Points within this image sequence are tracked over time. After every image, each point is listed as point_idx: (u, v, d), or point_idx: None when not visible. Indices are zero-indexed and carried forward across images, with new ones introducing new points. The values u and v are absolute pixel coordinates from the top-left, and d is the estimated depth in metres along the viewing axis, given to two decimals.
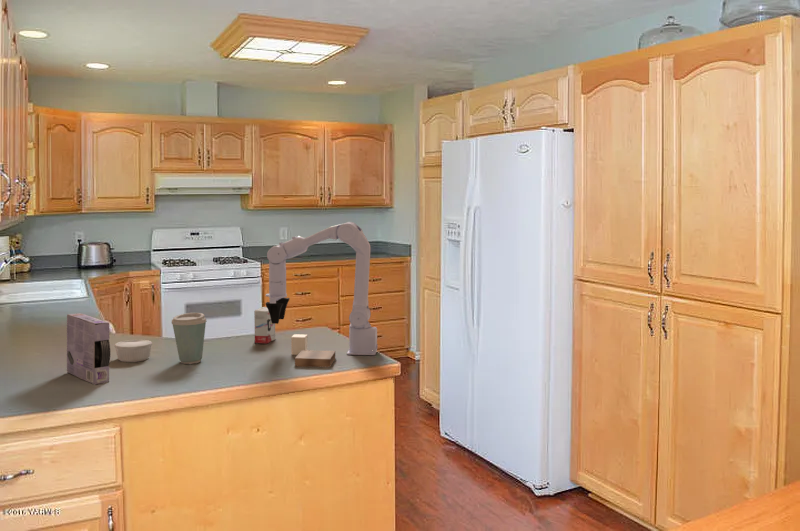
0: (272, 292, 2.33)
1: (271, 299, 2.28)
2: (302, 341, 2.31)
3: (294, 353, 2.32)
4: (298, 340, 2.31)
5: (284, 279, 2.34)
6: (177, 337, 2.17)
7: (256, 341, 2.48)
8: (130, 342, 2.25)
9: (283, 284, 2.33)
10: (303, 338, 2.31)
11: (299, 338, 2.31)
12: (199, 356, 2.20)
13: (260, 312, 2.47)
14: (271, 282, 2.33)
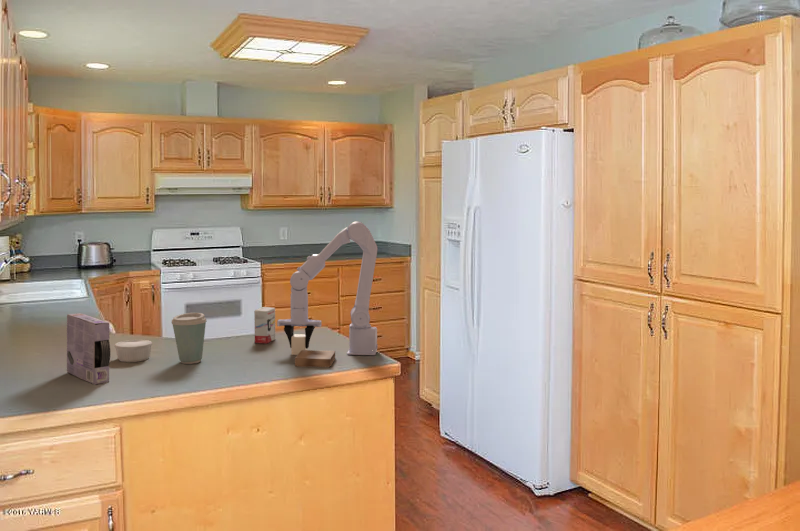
0: None
1: None
2: (302, 341, 2.31)
3: (294, 353, 2.32)
4: (298, 340, 2.31)
5: (307, 305, 2.32)
6: (177, 337, 2.17)
7: (256, 341, 2.48)
8: (130, 342, 2.25)
9: (293, 310, 2.30)
10: (303, 338, 2.31)
11: (299, 338, 2.31)
12: (199, 356, 2.20)
13: (260, 312, 2.47)
14: None
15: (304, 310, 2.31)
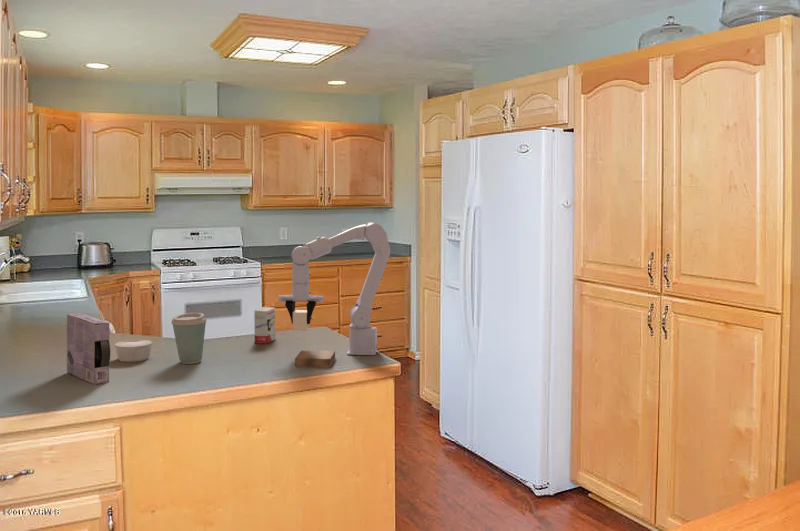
0: None
1: None
2: (303, 316, 2.29)
3: (295, 328, 2.30)
4: (299, 315, 2.29)
5: (308, 280, 2.30)
6: (177, 337, 2.17)
7: (256, 341, 2.48)
8: (130, 342, 2.25)
9: (294, 286, 2.28)
10: (304, 313, 2.29)
11: (300, 313, 2.29)
12: (199, 356, 2.20)
13: (260, 312, 2.47)
14: None
15: (305, 285, 2.29)
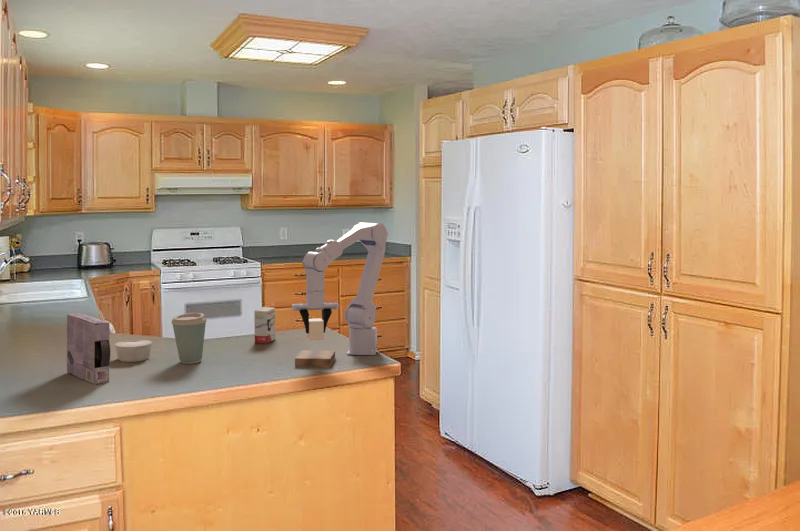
0: None
1: (292, 306, 2.19)
2: (321, 325, 2.19)
3: (312, 338, 2.19)
4: (316, 324, 2.19)
5: None
6: (177, 337, 2.17)
7: (256, 341, 2.48)
8: (130, 342, 2.25)
9: (311, 293, 2.17)
10: (322, 322, 2.19)
11: (318, 322, 2.19)
12: (199, 356, 2.20)
13: (260, 312, 2.47)
14: None
15: (323, 292, 2.19)
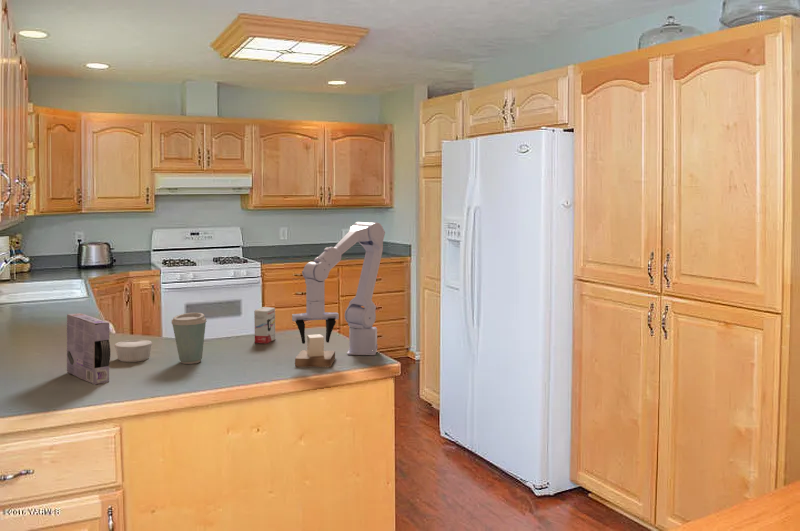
0: None
1: (292, 316, 2.19)
2: (321, 341, 2.20)
3: (312, 355, 2.20)
4: (317, 340, 2.20)
5: None
6: (177, 337, 2.17)
7: (256, 341, 2.48)
8: (130, 342, 2.25)
9: (311, 303, 2.18)
10: (322, 338, 2.20)
11: (318, 338, 2.20)
12: (199, 356, 2.20)
13: (260, 312, 2.47)
14: None
15: (323, 302, 2.19)
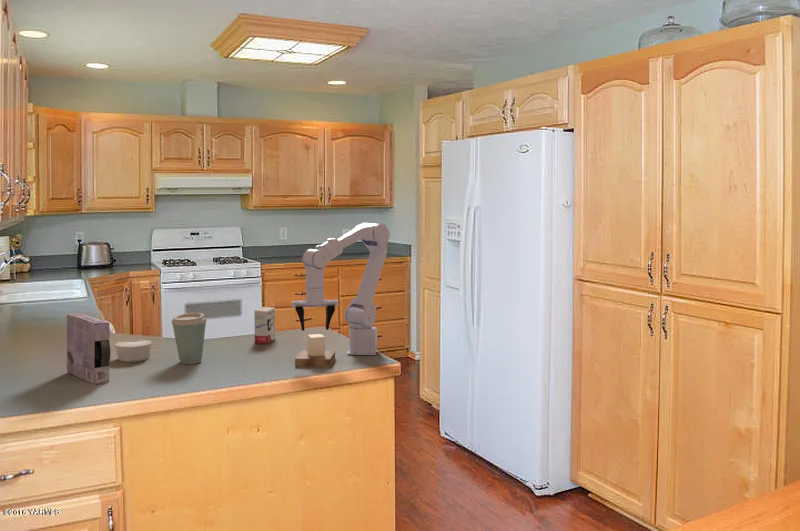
0: None
1: None
2: (322, 341, 2.20)
3: (314, 354, 2.20)
4: (318, 340, 2.20)
5: None
6: (177, 337, 2.17)
7: (256, 341, 2.48)
8: (130, 342, 2.25)
9: (310, 290, 2.18)
10: (323, 338, 2.20)
11: (319, 338, 2.20)
12: (199, 356, 2.20)
13: (260, 312, 2.47)
14: None
15: (322, 289, 2.19)
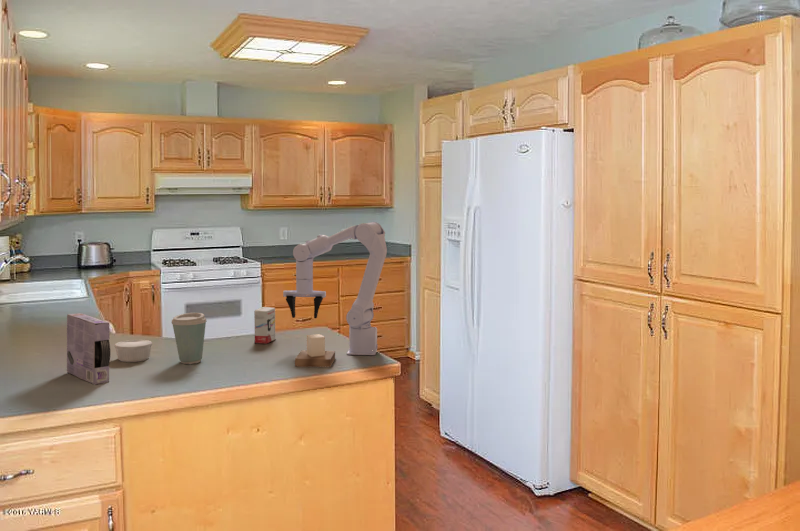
0: None
1: None
2: (322, 341, 2.20)
3: (314, 354, 2.20)
4: (318, 340, 2.20)
5: (309, 277, 2.39)
6: (177, 337, 2.17)
7: (256, 341, 2.48)
8: (130, 342, 2.25)
9: (298, 281, 2.38)
10: (323, 338, 2.20)
11: (319, 338, 2.20)
12: (199, 356, 2.20)
13: (260, 312, 2.47)
14: None
15: (309, 281, 2.39)
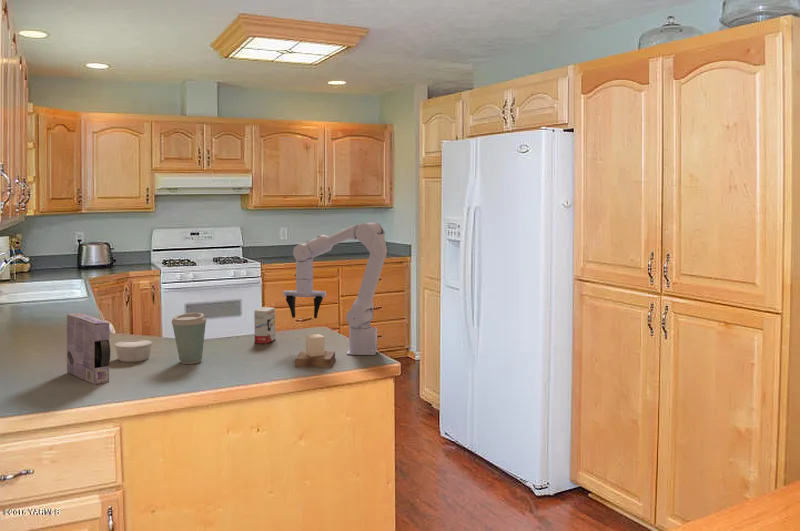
0: None
1: None
2: (321, 341, 2.21)
3: (313, 354, 2.20)
4: (317, 340, 2.20)
5: (309, 277, 2.39)
6: (177, 337, 2.17)
7: (256, 341, 2.48)
8: (130, 342, 2.25)
9: (298, 281, 2.38)
10: (322, 337, 2.21)
11: (318, 338, 2.20)
12: (199, 356, 2.20)
13: (260, 312, 2.47)
14: None
15: (309, 281, 2.39)
